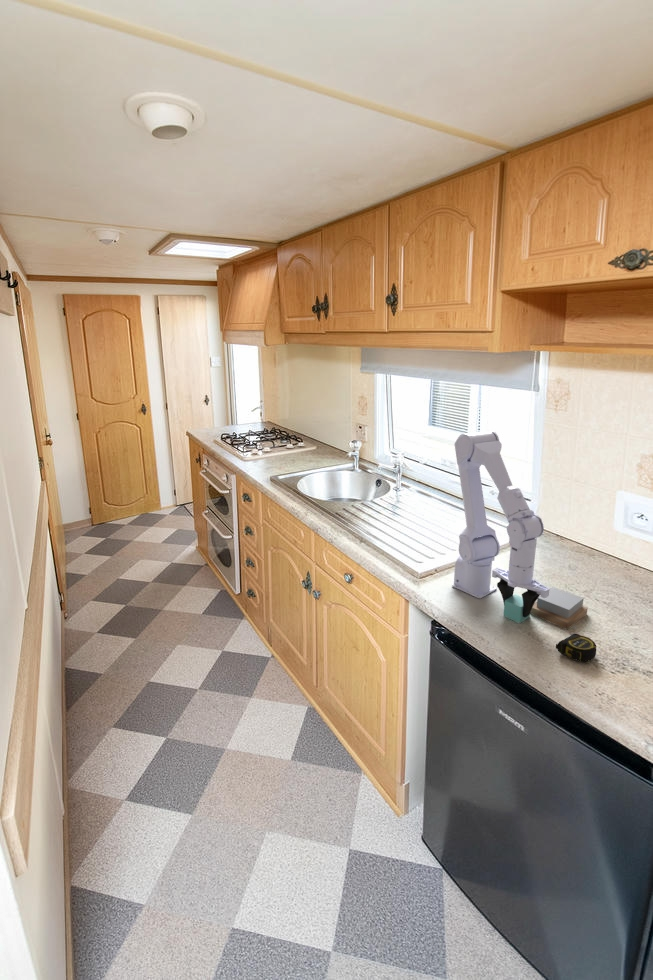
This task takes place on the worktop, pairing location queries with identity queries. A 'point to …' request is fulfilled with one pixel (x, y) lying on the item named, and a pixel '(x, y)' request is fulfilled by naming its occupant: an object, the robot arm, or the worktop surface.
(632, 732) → the worktop surface
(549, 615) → the tower base block
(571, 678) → the worktop surface
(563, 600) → the tower top block
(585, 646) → the tape measure
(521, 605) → the teal cube
